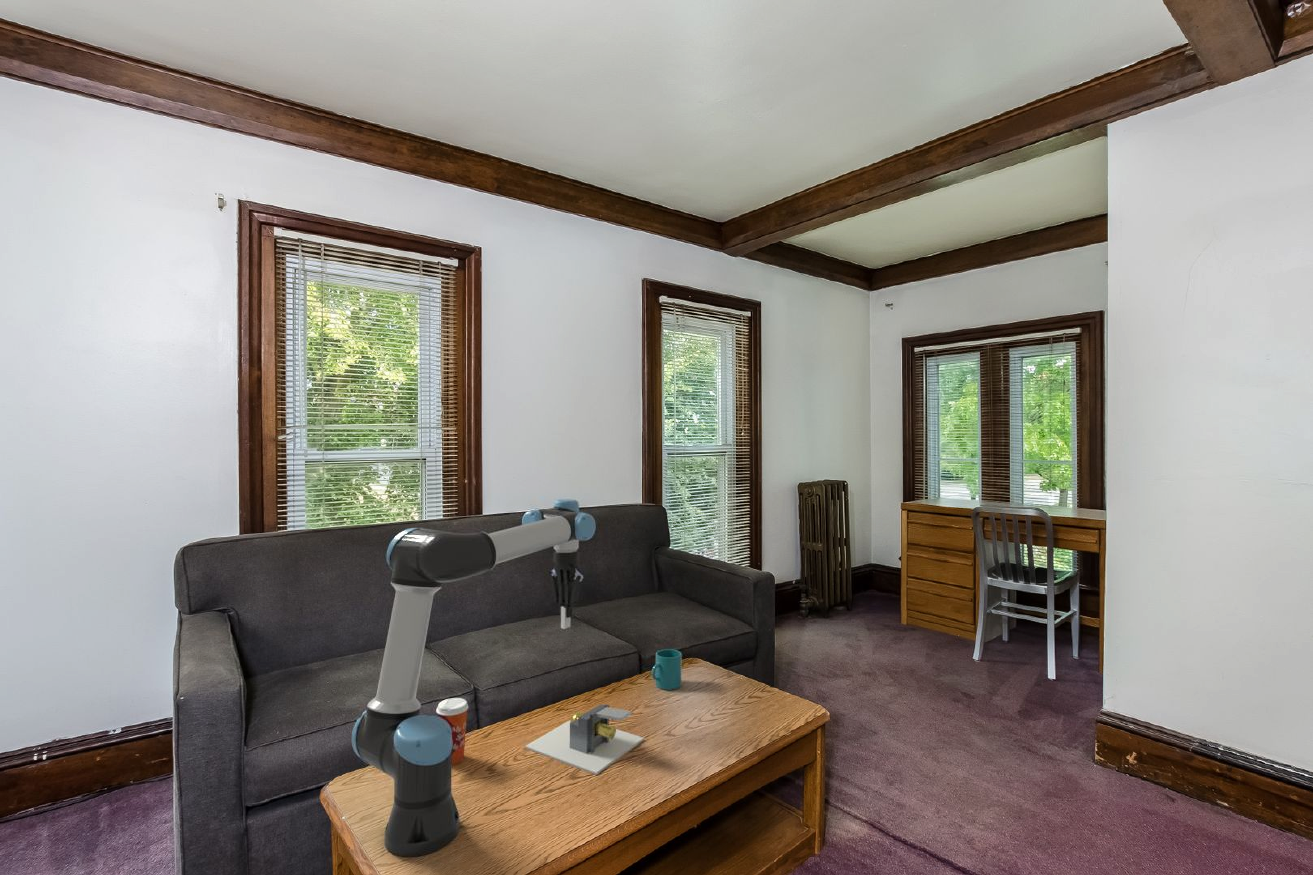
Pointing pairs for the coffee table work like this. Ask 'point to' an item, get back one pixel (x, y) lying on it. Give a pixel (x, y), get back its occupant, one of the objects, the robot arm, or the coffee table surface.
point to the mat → (559, 749)
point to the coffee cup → (455, 724)
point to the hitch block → (587, 731)
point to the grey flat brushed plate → (613, 713)
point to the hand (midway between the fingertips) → (565, 627)
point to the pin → (598, 727)
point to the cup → (667, 669)
